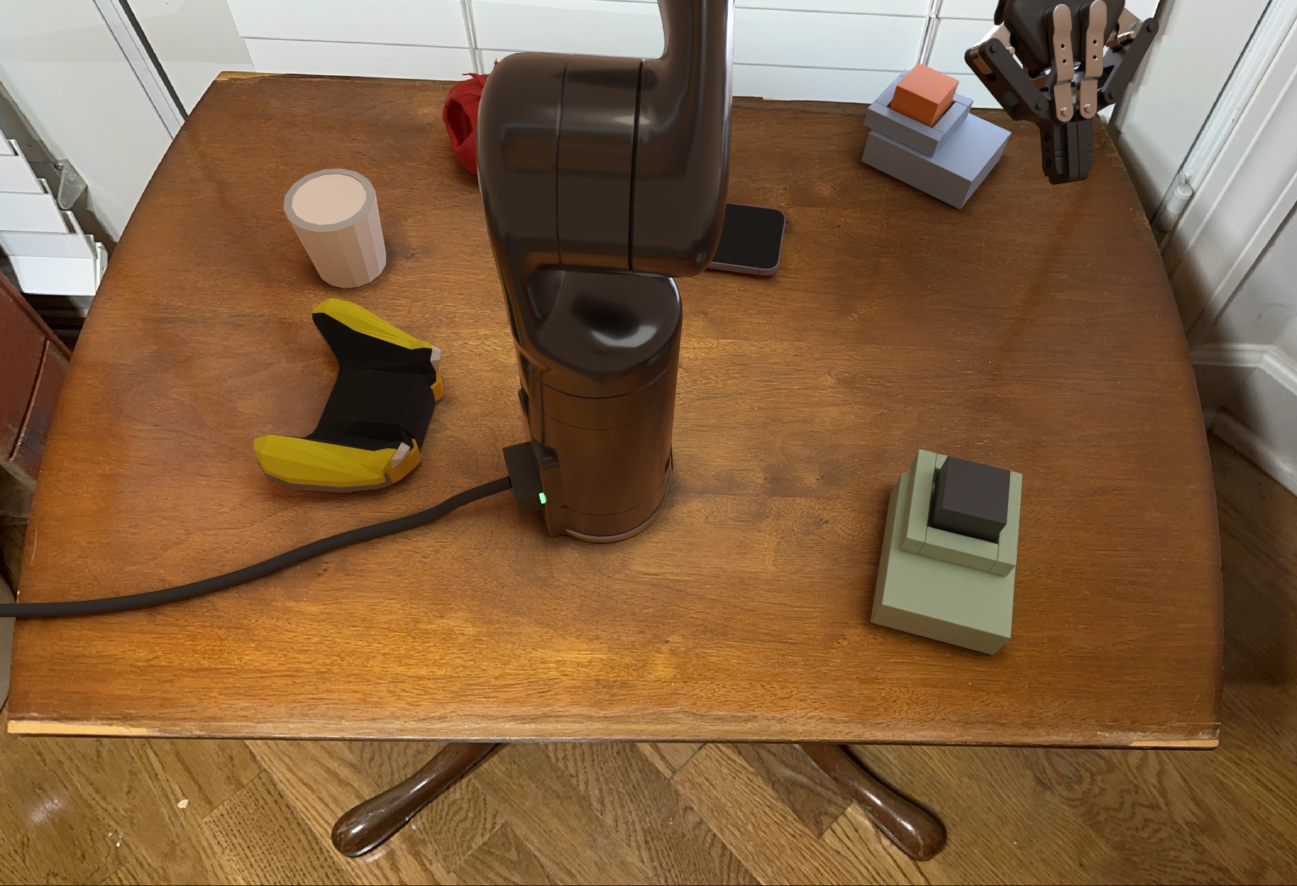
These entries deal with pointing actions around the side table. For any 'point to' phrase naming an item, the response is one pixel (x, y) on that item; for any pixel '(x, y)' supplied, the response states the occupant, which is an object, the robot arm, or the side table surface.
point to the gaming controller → (361, 408)
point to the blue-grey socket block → (933, 147)
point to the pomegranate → (464, 118)
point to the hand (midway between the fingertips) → (1068, 182)
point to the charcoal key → (971, 498)
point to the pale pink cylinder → (338, 225)
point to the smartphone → (750, 240)
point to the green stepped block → (944, 568)
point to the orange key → (924, 94)
